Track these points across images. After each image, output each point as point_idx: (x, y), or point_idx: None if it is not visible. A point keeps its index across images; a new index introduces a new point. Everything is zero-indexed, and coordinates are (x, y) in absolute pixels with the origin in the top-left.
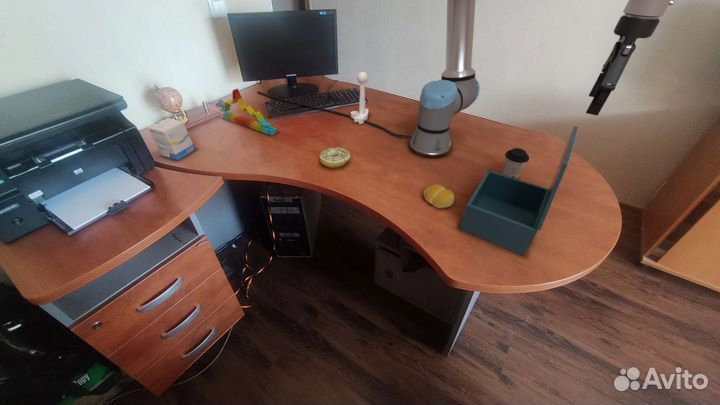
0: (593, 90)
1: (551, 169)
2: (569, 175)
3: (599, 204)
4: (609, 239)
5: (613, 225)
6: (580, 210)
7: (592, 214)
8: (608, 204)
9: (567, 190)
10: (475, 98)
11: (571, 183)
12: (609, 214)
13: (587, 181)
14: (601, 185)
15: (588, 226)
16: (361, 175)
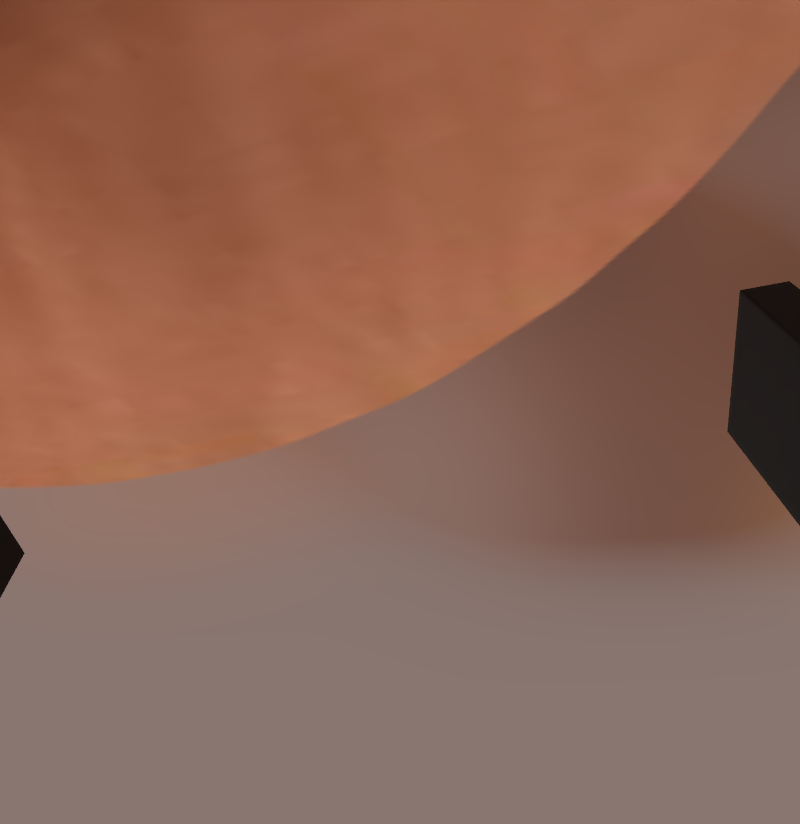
0: (792, 372)
1: (426, 82)
2: (431, 207)
3: (249, 402)
4: (19, 483)
5: (133, 475)
6: (114, 350)
7: (134, 398)
8: (284, 430)
9: (246, 247)
10: None
11: (343, 243)
12: (203, 449)
13: (435, 307)
14: (444, 370)
15: (22, 407)
16: None
